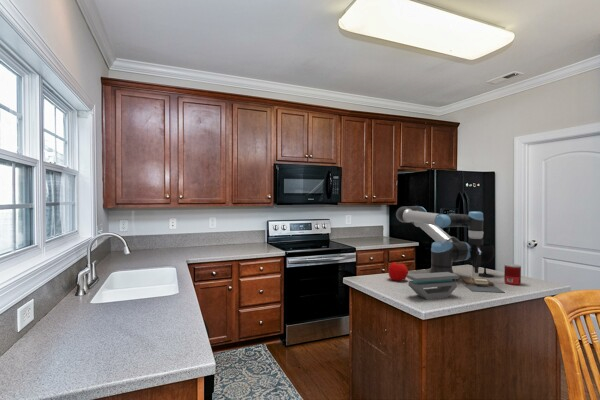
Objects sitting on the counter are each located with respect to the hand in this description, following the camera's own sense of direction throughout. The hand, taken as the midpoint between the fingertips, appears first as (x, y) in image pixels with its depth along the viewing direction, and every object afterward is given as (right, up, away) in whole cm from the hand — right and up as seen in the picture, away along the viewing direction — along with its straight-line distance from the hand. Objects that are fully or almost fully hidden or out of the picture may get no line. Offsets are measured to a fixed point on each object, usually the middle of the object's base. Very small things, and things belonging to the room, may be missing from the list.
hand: (475, 278), depth 189 cm
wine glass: (+16, -3, +18) cm, 24 cm away
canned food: (+21, -3, -1) cm, 21 cm away
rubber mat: (-2, -3, -13) cm, 13 cm away
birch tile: (-1, -1, -5) cm, 5 cm away
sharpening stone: (-36, -3, -26) cm, 44 cm away
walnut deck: (0, -3, -2) cm, 4 cm away
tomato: (-44, -3, +6) cm, 44 cm away
